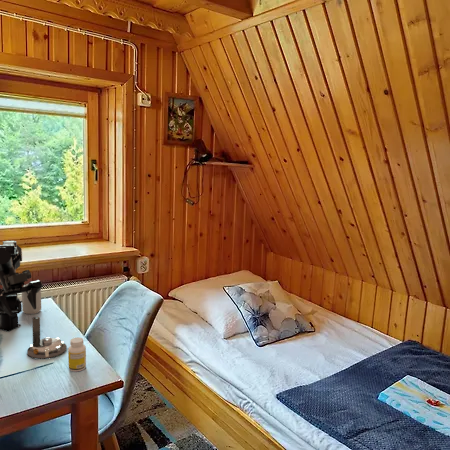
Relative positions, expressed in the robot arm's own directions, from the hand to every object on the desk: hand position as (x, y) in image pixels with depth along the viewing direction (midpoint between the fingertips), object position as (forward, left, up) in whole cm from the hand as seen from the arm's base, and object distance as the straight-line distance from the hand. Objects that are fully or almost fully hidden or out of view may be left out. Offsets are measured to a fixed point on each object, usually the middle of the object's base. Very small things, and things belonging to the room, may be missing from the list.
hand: (23, 312), depth 152 cm
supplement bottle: (+27, -6, -13) cm, 31 cm away
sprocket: (+10, 0, -11) cm, 15 cm away
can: (-21, +27, -13) cm, 36 cm away
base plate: (+10, 0, -12) cm, 16 cm away
